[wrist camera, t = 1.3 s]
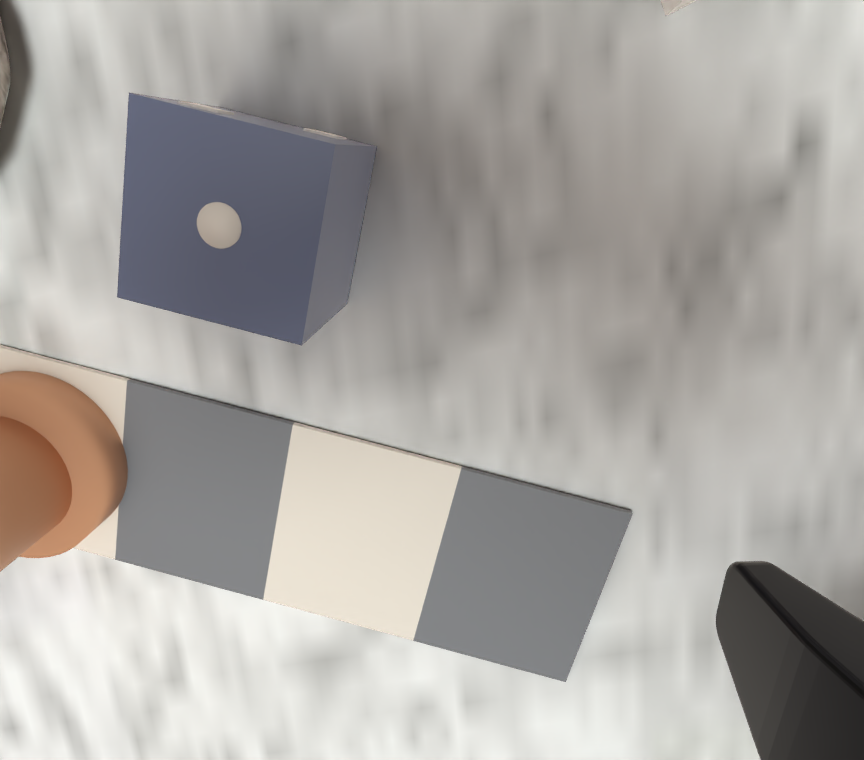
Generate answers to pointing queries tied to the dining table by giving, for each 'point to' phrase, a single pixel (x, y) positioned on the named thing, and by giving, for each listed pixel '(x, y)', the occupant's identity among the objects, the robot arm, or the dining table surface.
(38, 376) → the pawn
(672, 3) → the milk
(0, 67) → the salad plate
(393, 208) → the dining table surface
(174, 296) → the die
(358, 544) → the board
